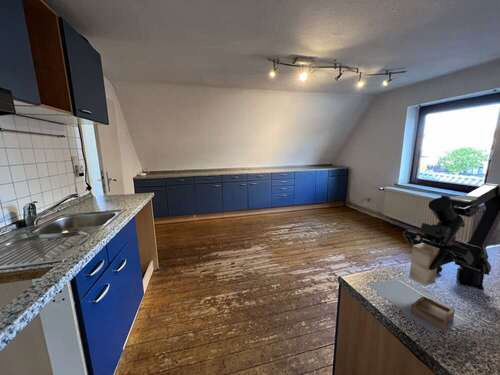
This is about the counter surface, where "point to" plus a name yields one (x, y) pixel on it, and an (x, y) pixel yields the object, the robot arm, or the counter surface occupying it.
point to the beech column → (423, 264)
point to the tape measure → (439, 270)
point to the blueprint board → (413, 301)
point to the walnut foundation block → (432, 312)
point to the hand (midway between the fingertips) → (421, 265)
